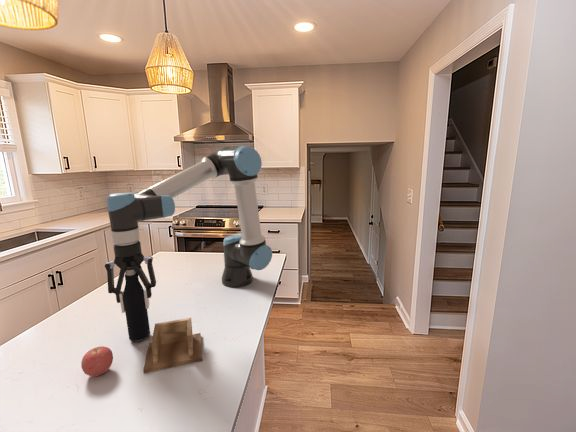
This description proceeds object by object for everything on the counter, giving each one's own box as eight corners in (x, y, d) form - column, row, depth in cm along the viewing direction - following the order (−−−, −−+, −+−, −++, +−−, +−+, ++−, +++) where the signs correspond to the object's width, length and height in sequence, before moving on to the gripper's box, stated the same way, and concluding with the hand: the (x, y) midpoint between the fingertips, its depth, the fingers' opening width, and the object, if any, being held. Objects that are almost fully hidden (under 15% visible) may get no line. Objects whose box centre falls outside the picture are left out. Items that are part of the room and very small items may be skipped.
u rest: (200, 336, 99) (199, 314, 97) (202, 360, 87) (200, 336, 85) (149, 345, 94) (146, 323, 92) (143, 373, 82) (140, 347, 80)
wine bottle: (141, 342, 94) (129, 255, 88) (124, 340, 96) (111, 254, 89) (154, 330, 100) (143, 248, 94) (138, 329, 102) (126, 247, 96)
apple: (110, 379, 80) (106, 353, 78) (79, 385, 78) (74, 359, 76) (117, 361, 87) (114, 337, 85) (89, 366, 85) (85, 342, 83)
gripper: (161, 235, 98) (168, 298, 102) (95, 242, 92) (105, 308, 97) (158, 241, 91) (166, 308, 95) (87, 249, 85) (99, 320, 90)
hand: (136, 308), depth 96 cm, fingers closed on wine bottle, 6 cm apart
